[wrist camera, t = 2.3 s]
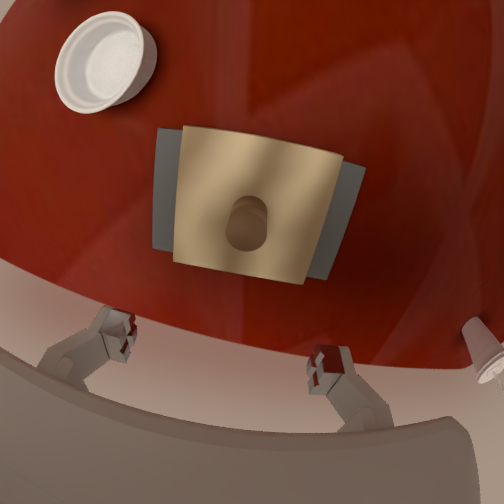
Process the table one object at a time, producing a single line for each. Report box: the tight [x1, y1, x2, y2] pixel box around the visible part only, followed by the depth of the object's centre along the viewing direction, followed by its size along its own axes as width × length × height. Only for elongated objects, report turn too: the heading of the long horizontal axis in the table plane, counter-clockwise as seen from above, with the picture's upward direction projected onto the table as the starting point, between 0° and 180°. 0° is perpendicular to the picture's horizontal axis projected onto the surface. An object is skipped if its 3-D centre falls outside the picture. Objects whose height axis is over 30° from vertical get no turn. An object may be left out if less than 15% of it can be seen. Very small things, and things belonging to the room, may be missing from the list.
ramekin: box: [55, 11, 157, 114], centre depth 16 cm, size 9×9×4 cm
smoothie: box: [462, 317, 504, 394], centre depth 25 cm, size 6×6×14 cm
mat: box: [152, 128, 366, 280], centre depth 24 cm, size 18×12×1 cm, turn 80°
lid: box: [173, 125, 344, 285], centre depth 22 cm, size 13×13×5 cm
